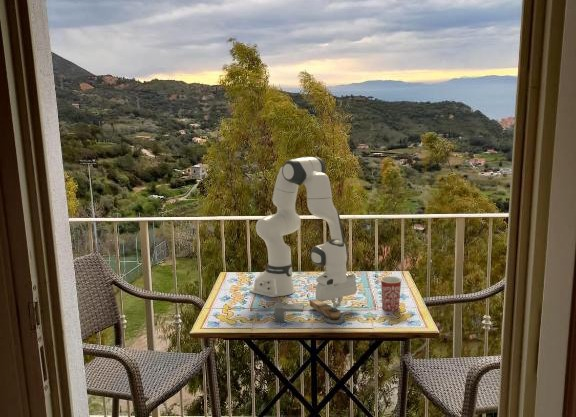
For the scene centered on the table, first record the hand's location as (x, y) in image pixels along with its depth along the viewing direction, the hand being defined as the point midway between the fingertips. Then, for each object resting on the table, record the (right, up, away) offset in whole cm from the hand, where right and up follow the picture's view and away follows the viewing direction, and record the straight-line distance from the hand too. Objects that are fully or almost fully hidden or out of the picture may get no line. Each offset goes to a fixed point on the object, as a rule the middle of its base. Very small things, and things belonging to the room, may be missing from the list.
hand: (336, 306), depth 235 cm
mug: (+24, -1, +3) cm, 24 cm away
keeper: (-21, -4, -9) cm, 23 cm away
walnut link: (-5, -1, -5) cm, 7 cm away
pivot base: (-2, -4, -11) cm, 12 cm away
